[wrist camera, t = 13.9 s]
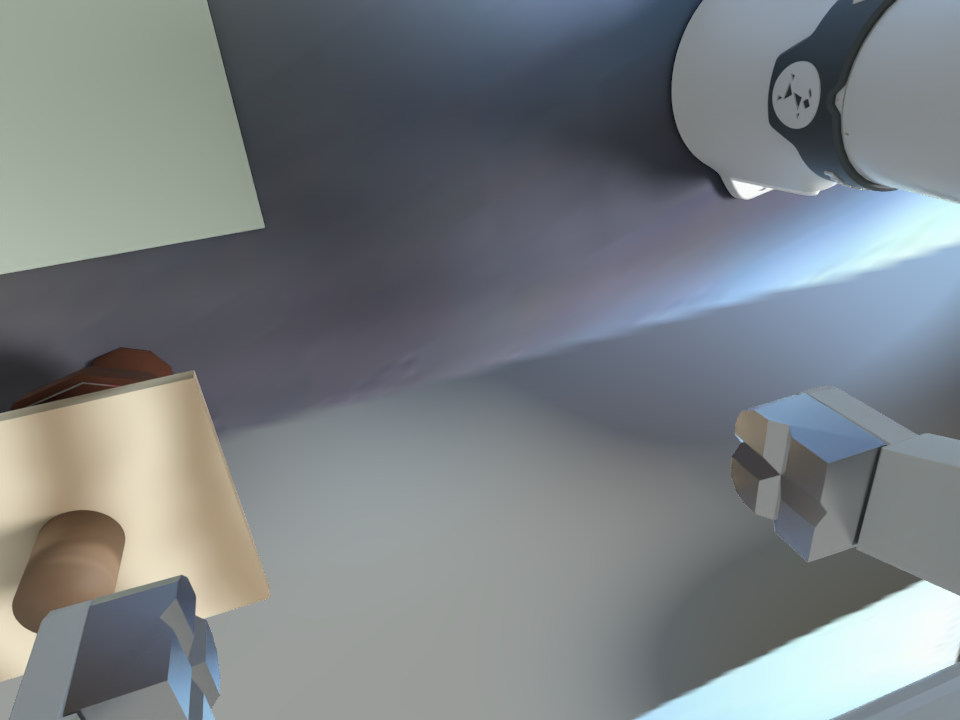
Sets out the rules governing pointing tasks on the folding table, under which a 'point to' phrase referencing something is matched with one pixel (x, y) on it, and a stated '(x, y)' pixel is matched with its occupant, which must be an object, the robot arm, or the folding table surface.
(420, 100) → the folding table surface
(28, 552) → the lid
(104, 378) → the ice cream bowl
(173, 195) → the lid mat
